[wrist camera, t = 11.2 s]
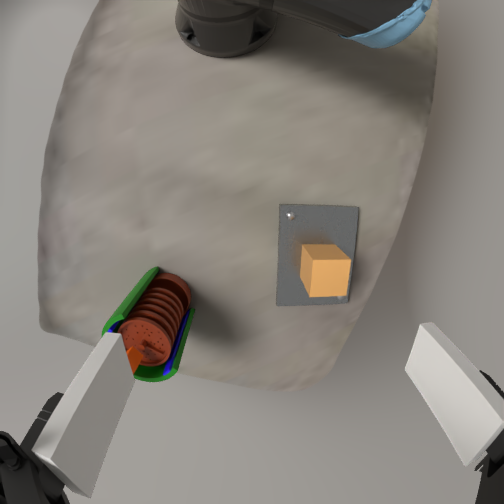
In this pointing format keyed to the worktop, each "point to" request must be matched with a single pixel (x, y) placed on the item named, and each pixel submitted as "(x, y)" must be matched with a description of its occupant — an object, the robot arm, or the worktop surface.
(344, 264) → the orange block
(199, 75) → the worktop surface
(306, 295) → the plate
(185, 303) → the motor
